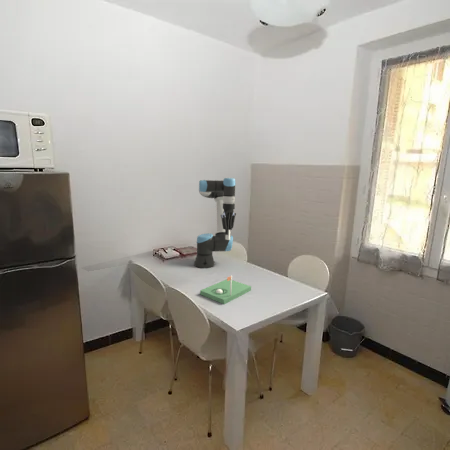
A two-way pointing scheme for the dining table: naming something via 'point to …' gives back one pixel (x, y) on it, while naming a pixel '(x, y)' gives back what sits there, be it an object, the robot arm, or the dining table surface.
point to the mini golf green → (225, 290)
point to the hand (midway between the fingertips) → (227, 239)
